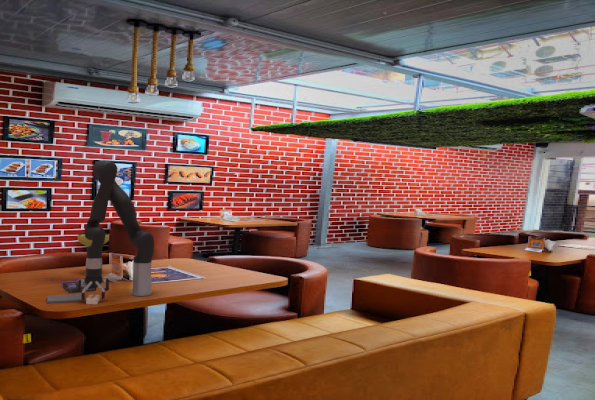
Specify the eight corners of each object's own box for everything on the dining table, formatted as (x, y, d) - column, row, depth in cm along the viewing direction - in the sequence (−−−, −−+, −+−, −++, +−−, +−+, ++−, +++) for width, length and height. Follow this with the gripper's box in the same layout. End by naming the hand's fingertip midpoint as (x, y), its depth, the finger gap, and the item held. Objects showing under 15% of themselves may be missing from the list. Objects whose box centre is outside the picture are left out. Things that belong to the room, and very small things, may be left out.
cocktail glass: (102, 271, 339) (103, 232, 338) (112, 276, 325) (113, 235, 324) (72, 273, 328) (73, 233, 327) (82, 278, 314) (83, 236, 313)
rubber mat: (82, 296, 272) (82, 294, 272) (83, 301, 261) (83, 299, 261) (47, 297, 266) (47, 295, 266) (47, 303, 255) (47, 301, 255)
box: (61, 287, 293) (68, 294, 277) (61, 281, 293) (68, 287, 277) (88, 285, 301) (96, 291, 285) (88, 279, 301) (96, 285, 285)
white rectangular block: (89, 300, 265) (89, 294, 265) (99, 300, 266) (100, 294, 266) (86, 304, 257) (86, 298, 257) (96, 304, 258) (97, 298, 258)
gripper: (108, 265, 267) (107, 297, 268) (78, 266, 261) (77, 298, 262) (110, 267, 260) (109, 300, 261) (78, 268, 254) (77, 302, 255)
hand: (93, 299), depth 261 cm, fingers open, 8 cm apart
